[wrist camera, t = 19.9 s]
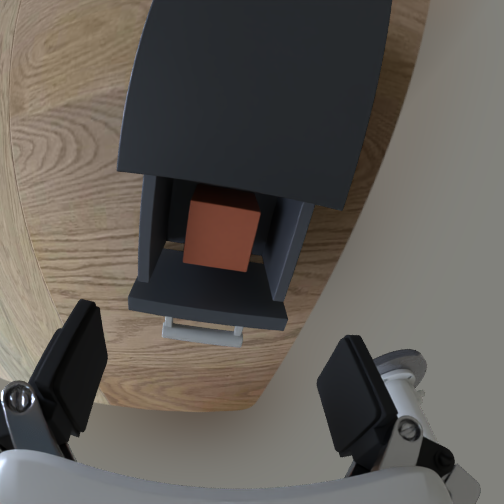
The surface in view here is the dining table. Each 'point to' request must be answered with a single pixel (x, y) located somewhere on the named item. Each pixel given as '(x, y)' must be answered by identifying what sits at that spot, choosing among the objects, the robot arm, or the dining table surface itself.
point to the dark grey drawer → (210, 278)
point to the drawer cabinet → (255, 94)
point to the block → (221, 228)
